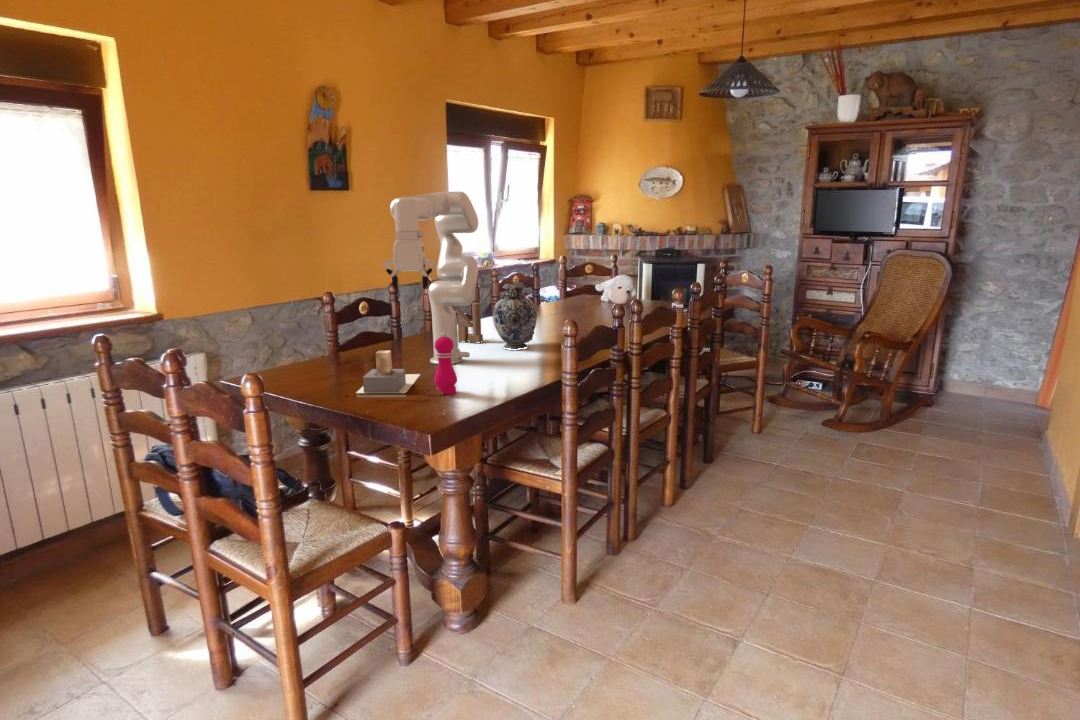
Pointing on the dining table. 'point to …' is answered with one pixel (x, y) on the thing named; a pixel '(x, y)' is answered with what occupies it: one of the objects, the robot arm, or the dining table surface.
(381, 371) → the square wooden peg
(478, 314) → the brown braced post frame
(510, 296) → the decorative vase
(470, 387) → the dining table surface
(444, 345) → the pink bowling pin
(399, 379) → the board
